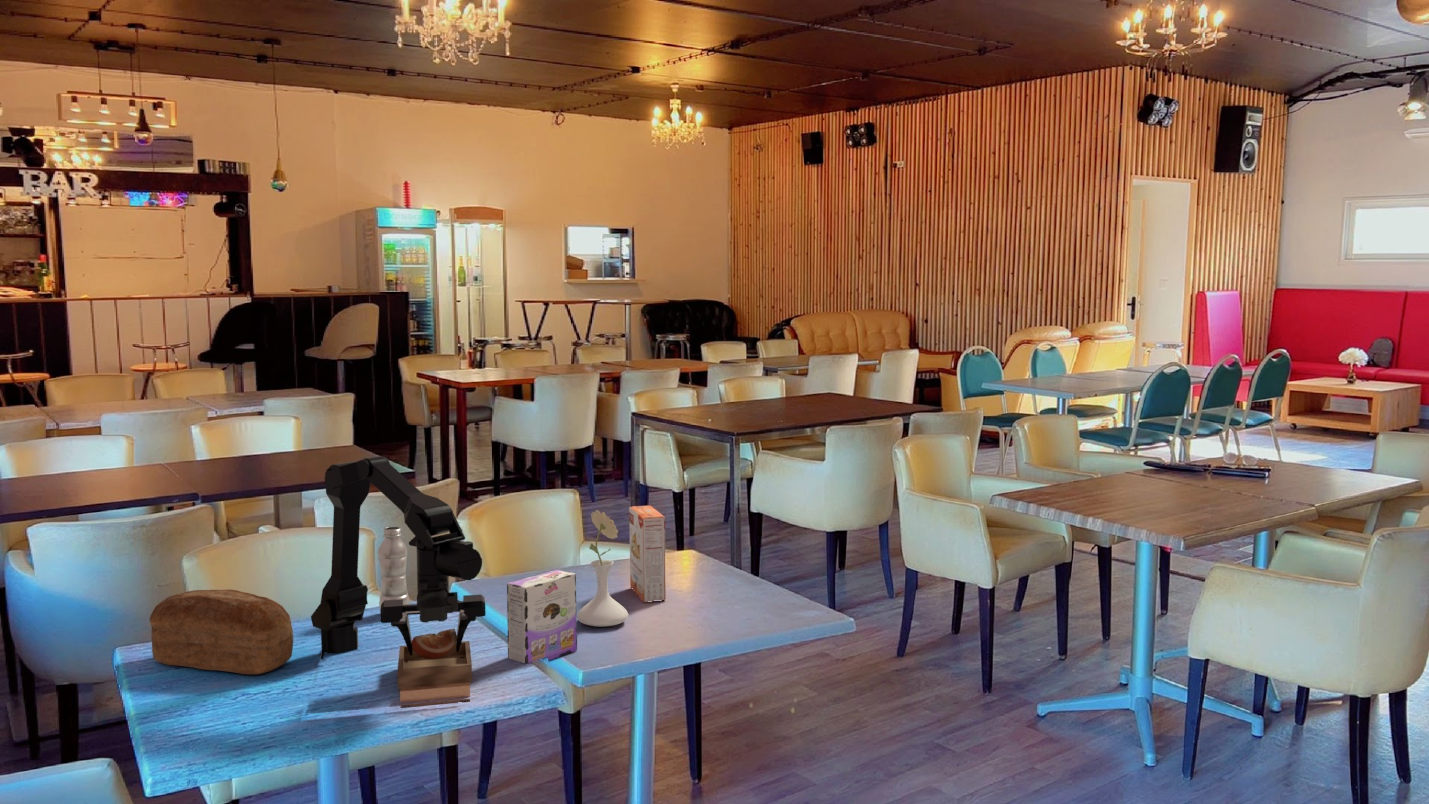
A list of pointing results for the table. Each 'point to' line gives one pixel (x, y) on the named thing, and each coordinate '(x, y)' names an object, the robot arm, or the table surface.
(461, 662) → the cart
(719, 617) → the table surface
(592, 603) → the flower in vase
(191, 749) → the table surface
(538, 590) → the candy box
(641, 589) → the cracker box
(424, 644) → the fruit slice
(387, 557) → the plastic bottle
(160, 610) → the bread
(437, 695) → the rail track
